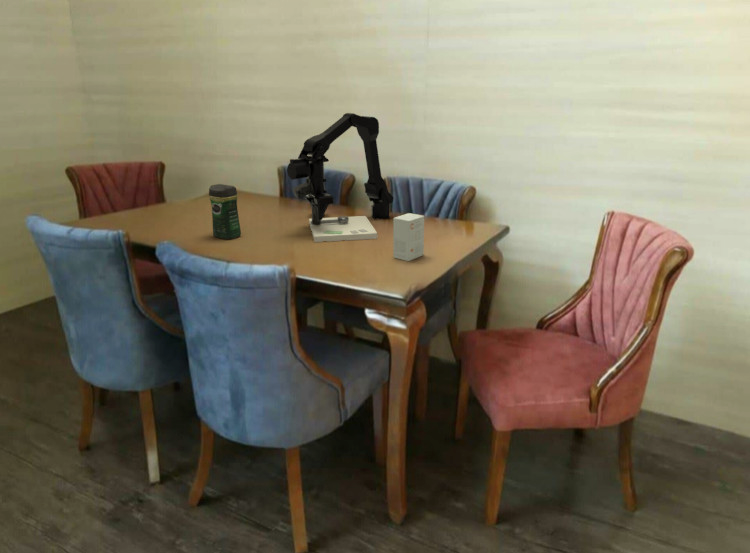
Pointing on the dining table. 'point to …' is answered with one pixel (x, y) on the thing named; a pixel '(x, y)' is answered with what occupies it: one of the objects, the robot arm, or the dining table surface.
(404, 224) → the small box
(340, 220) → the dark knobbed cylinder
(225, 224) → the coffee jar
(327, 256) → the dining table surface
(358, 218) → the dial plate
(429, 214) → the dining table surface
